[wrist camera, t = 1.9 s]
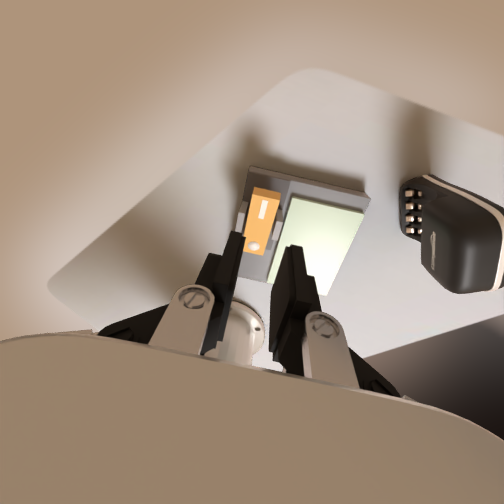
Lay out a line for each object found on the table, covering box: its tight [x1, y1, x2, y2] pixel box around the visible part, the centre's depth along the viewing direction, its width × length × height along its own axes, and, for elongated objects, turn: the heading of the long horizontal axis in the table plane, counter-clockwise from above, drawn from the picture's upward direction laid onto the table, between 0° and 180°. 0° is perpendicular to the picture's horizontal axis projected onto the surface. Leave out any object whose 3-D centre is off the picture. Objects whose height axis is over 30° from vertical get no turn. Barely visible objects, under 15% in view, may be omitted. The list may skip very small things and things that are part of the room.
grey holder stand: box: [235, 166, 371, 296], centre depth 28 cm, size 13×12×6 cm
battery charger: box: [400, 174, 504, 294], centre depth 22 cm, size 7×4×11 cm, turn 18°
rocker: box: [243, 187, 281, 256], centre depth 24 cm, size 7×2×1 cm, turn 169°
